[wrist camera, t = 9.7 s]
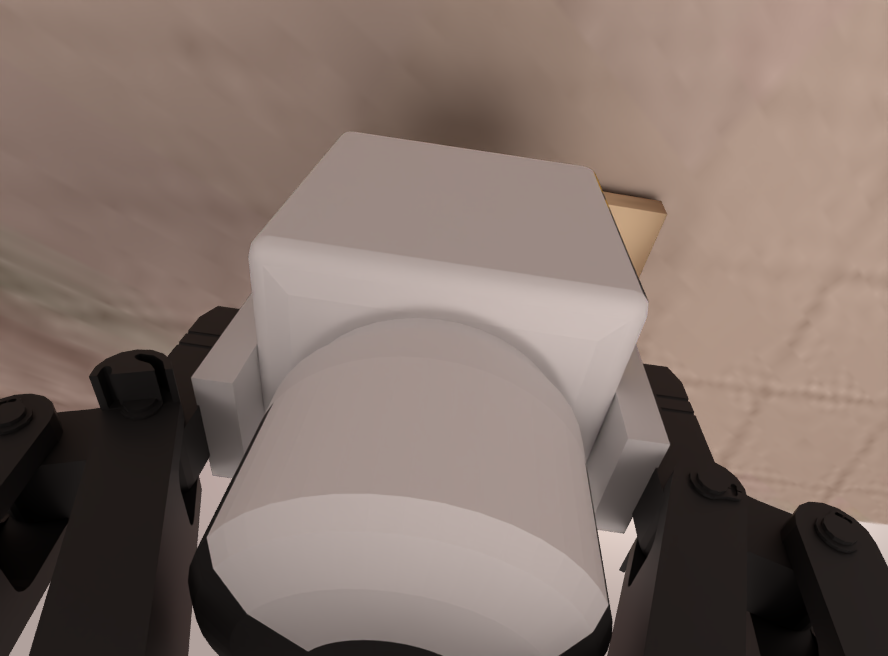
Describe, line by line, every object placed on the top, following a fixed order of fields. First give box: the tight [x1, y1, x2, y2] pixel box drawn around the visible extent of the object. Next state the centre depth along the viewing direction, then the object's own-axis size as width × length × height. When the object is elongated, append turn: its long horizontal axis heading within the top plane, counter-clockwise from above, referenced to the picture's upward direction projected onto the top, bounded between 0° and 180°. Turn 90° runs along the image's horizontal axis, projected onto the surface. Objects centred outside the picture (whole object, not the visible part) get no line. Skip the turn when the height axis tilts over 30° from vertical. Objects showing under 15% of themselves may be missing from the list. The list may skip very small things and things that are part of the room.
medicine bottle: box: [188, 132, 648, 656], centre depth 12 cm, size 7×7×12 cm
